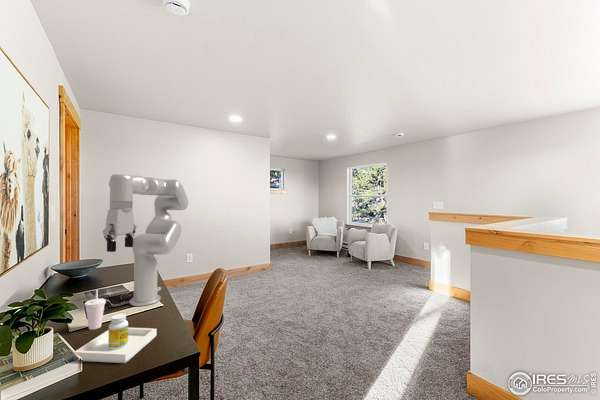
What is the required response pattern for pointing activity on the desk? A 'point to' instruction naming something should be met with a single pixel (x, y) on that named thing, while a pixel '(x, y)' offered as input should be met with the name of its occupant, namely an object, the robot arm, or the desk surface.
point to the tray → (102, 352)
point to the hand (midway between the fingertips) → (120, 249)
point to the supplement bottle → (118, 331)
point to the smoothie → (95, 312)
